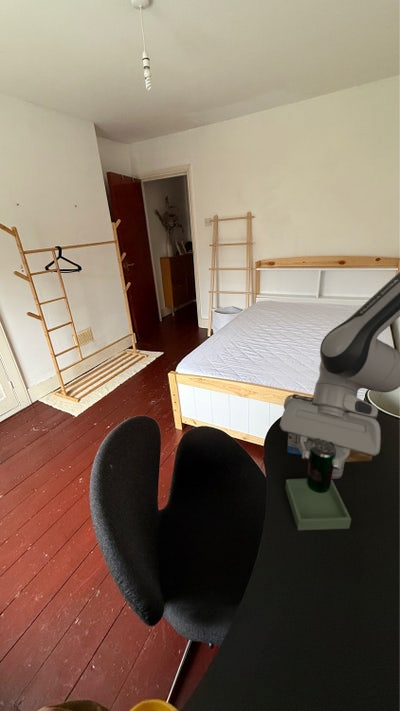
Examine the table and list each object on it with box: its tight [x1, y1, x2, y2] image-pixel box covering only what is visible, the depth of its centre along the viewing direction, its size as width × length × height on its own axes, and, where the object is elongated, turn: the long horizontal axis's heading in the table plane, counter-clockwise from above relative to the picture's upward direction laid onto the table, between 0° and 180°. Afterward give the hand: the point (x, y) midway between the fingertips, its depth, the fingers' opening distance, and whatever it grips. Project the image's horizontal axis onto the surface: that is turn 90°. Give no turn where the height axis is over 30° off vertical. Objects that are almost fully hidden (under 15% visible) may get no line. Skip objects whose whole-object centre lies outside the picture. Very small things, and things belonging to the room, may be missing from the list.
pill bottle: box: [332, 446, 346, 479], centre depth 77 cm, size 5×5×8 cm
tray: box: [284, 478, 352, 531], centre depth 70 cm, size 11×11×3 cm
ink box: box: [286, 433, 314, 456], centre depth 84 cm, size 9×5×12 cm, turn 71°
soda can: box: [305, 438, 336, 493], centre depth 65 cm, size 5×5×12 cm
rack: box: [345, 450, 373, 463], centre depth 89 cm, size 10×18×4 cm, turn 179°
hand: (320, 464), depth 64 cm, fingers closed on soda can, 5 cm apart
